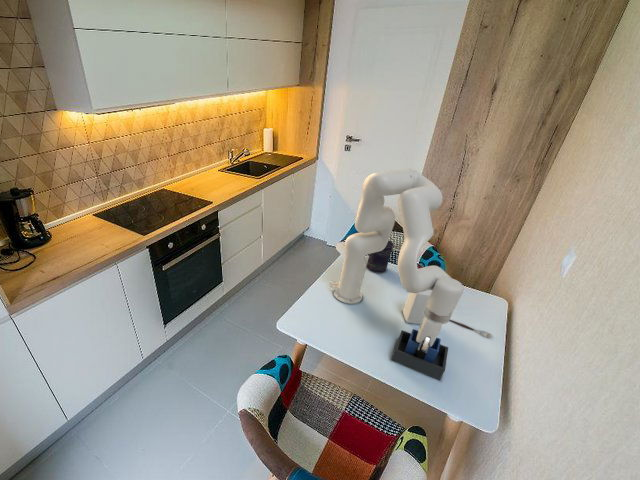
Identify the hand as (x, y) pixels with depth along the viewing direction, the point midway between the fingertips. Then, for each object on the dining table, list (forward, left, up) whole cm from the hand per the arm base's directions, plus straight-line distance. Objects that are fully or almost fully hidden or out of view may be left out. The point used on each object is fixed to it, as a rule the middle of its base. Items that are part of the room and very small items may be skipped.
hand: (420, 350), depth 113 cm
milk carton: (-5, +23, -4) cm, 24 cm away
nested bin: (0, 0, -1) cm, 1 cm away
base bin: (0, 0, -4) cm, 4 cm away
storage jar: (-28, +55, -4) cm, 62 cm away
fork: (+16, +29, -5) cm, 33 cm away
